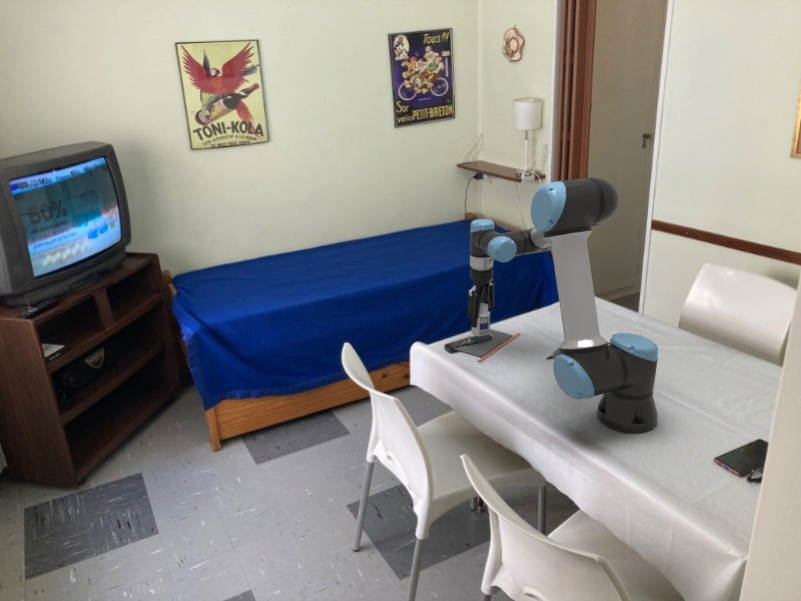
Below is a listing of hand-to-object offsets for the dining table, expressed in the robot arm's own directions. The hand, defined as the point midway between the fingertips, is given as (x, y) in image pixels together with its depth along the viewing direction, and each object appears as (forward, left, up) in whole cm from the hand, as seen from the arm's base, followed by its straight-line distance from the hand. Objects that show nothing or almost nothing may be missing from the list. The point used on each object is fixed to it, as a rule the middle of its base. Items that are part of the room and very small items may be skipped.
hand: (480, 331), depth 218 cm
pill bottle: (0, 0, -1) cm, 1 cm away
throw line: (0, -8, -4) cm, 9 cm away
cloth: (+13, -29, -5) cm, 32 cm away
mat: (0, -1, -4) cm, 4 cm away
